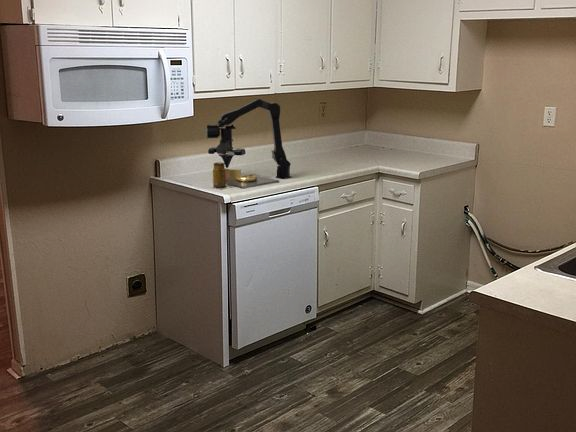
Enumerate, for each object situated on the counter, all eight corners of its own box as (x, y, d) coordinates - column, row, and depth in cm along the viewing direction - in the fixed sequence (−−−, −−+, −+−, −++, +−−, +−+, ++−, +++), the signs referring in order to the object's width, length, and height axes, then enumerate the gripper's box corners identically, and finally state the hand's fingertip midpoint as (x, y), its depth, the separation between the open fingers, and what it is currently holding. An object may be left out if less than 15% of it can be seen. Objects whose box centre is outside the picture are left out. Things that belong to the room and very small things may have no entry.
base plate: (250, 175, 344) (250, 173, 343) (279, 182, 326) (279, 179, 326) (213, 181, 328) (213, 179, 328) (242, 188, 311) (242, 186, 311)
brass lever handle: (222, 178, 329) (221, 168, 328) (251, 176, 335) (251, 166, 334) (229, 183, 318) (229, 173, 317) (260, 180, 324) (260, 170, 323)
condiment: (220, 185, 320) (219, 161, 317) (231, 187, 314) (231, 163, 311) (209, 187, 314) (208, 163, 311) (220, 189, 309) (219, 165, 306)
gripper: (203, 138, 322) (204, 169, 325) (237, 140, 316) (237, 171, 320) (212, 136, 332) (213, 165, 336) (245, 137, 326) (246, 167, 330)
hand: (227, 167), depth 330 cm, fingers closed
